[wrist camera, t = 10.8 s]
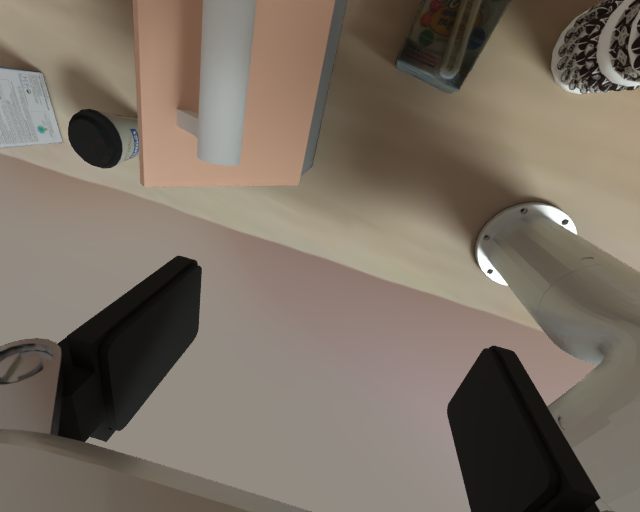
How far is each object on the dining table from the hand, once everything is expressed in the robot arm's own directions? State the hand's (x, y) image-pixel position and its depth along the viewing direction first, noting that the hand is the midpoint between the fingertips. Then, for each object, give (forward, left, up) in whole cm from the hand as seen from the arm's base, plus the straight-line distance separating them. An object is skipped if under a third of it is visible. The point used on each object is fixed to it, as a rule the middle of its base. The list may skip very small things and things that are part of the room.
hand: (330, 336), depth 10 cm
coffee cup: (+33, +4, -36) cm, 49 cm away
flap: (+12, -8, -21) cm, 25 cm away
